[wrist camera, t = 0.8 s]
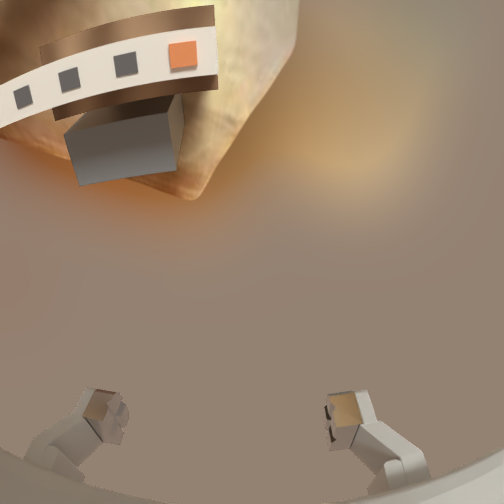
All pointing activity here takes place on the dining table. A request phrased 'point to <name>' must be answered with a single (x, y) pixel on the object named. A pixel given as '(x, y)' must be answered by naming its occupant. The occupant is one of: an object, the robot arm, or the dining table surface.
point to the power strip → (110, 70)
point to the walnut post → (124, 31)
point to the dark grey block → (127, 139)
